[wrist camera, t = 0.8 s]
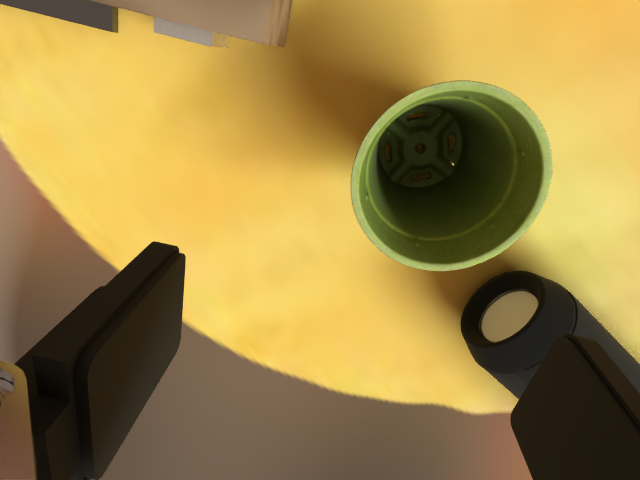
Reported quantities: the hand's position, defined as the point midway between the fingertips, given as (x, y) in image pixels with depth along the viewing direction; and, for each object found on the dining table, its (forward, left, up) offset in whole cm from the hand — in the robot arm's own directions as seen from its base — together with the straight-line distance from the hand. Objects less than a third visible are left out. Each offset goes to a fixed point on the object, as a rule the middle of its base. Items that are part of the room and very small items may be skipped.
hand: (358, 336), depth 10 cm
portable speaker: (+17, +27, -27) cm, 41 cm away
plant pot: (0, +6, -27) cm, 28 cm away
